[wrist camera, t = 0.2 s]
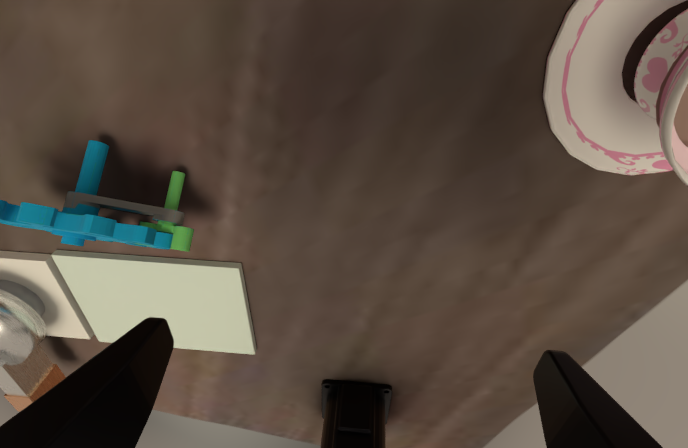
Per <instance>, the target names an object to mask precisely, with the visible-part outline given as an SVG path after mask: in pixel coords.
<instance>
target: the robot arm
mask: <svg viewBox="0 0 688 448" xmlns="http://www.w3.org/2000/svg"><path fill="white" fill-rule="evenodd" d="M173 347H174V339H173V336H172V333H171V330H170V328H169V325H168V322H167V320H166V319H164V318H156V317H149V318H146V319H144V320H143V321H142V322H140V323H139V324H138V325H136V326H135V327H133V328H132V329H131V330H129V331H128V332H127V333H125V334H124V335H123V336H121V337H120V338H119V339H117V340H116V341H115V342H113V343H112V344H111V345H109V346H108V347H107V348H105V349H104V350H103V351H101V352H100V353H99V354H97V355H96V356H94V357H93V358H92V359H90V360H89V361H88V362H86V363H85V364H84V365H82V366H81V367H80V368H78V369H77V370H76V371H74V372H73V373H72V374H70V375H69V376H68V377H66V378H65V379H64V380H62V381H61V382H59V383H58V384H57V385H55V386H54V387H53V388H51V389H50V390H49V391H47V392H46V393H45V394H43V395H42V396H41V397H39V398H38V399H37V400H35V401H34V402H33V403H31V404H30V405H29V406H27V407H26V408H25V409H23V410H22V411H20V412H19V413H18V414H17V415H15V416H14V417H12V418H11V419H10V420H8V421H7V422H6V423H4V424H3V425H2V426H1V427H0V448H135V446H136V444H137V442H138V440H139V437H140V436H141V433H142V431H143V429H144V427H145V425H146V422H147V420H148V418H149V415H150V413H151V411H152V409H153V406H154V403H155V400H156V398H157V395H158V392H159V389H160V386H161V383H162V380H163V377H164V374H165V371H166V368H167V365H168V362H169V359H170V356H171V353H172V350H173ZM533 378H534V385H535V390H536V395H537V400H538V405H539V410H540V416H541V421H542V427H543V432H544V437H545V441H546V446H547V448H662V447H661V445H660V444H659V443H658V442H657V441H655V439H654V438H652V436H651V435H649V433H647V432H646V431H645V430H644V429H643V428H642V427H641V426H640V425H639V424H638V423H637V422H636V421H635V420H634V419H633V418H632V417H631V416H630V415H629V414H628V413H627V412H626V411H625V410H624V409H623V408H622V407H621V406H620V405H619V404H618V403H617V402H616V401H615V400H614V399H613V398H612V397H611V396H610V395H609V394H608V393H607V392H606V391H605V390H604V389H603V388H602V387H601V386H600V385H599V384H598V383H597V382H596V381H595V380H594V379H593V378H592V377H591V376H590V375H589V374H588V373H587V372H586V371H584V369H583V368H582V367H581V366H580V365H579V364H578V363H577V362H576V361H575V360H574V359H573V358H572V357H571V356H570V355H568V354H567V353H566V352H563V351H555V350H547V351H545V352H544V353H543V355H542V357H541V359H540V360H539V362H538V364H537V366H536V368H535V370H534V375H533ZM391 395H392V387H391V386H390V385H384V384H372V383H361V382H349V381H338V380H323V381H322V417H323V419H324V424H323V432H322V440H321V448H385V424H386V423H387V418H388V412H389V407H390V401H391Z"/></svg>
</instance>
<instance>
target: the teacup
mask: <svg viewBox="0 0 688 448" xmlns="http://www.w3.org/2000/svg"><path fill="white" fill-rule="evenodd" d="M684 1H687V0H576V1H575V2H574V3H573V5H572V6H571V7H570V9H569V10H568V11H567V13H566V15H565V18H564V20H563V22H562V25H561V27H560V29H559V31H558V34H557V36H556V38H555V41H554V43H553V45H552V48H551V50H550V52H549V55H548V57H547V65H546V73H545V81H544V89H543V100H544V105H545V109H546V113H547V117H548V122H549V126H550V129H551V131H552V132H553V133H554V135H555V136H556V137H557V139H558V140H559V141H560V143H561V144H562V145H563V147H564V148H565V149H566V151H567V152H568V153H569V154H570V155H571V156H573V157H575V158H577V159H579V160H580V161H582V162H584V163H586V164H587V165H589V166H591V167H593V168H594V169H596V170H601V171H607V172H613V173H619V174H625V175H638V174H648V173H658V172H668V171H671V170H674V171H675V173H676V174H677V176H678V177H679V178H680V179H681V181H682V182H683V183H684V184H685V185H687V186H688V9H687V10H685V11H683V12H682V13H680V14H679V15H678V16H677V17H675V18H674V19H673V20H671V21H670V22H669V23H668V24H667V25H666V26H665V27H664V28H663V29H662V30H661V31H660V32H659V33H658V34H657V35H656V36H655V38H654V39H653V40H652V42H651V43H650V44H649V46H648V47H647V49H646V50H645V52H644V54H643V56H642V58H641V60H640V62H639V64H638V67H637V70H636V74H635V79H634V92H635V98H636V100H637V102H635V101H634V100H632V99H631V98H630V97H629V95H628V94H627V92H626V90H625V89H624V87H623V78H622V70H623V66H624V62H625V57H626V55H627V53H628V51H629V50H630V48H631V46H632V44H633V42H634V40H635V39H636V38H637V36H638V35H639V34H640V33H641V32H642V31H643V30H644V29H645V27H646V26H647V25H648V24H649V23H650V22H651V21H653V20H654V19H655V18H657V17H658V16H659V15H661V14H662V13H663V12H665V11H666V10H667V9H669V8H671V7H673V6H676V5H678V4H680V3H682V2H684Z"/></svg>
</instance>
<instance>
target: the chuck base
mask: <svg viewBox="0 0 688 448" xmlns="http://www.w3.org/2000/svg"><path fill="white" fill-rule="evenodd" d="M0 289H1V290H3V291H6V292H8V293H10V294H12V295H14V296H16V297H17V298H19V299H21V300H22V301H24V302H25V303H27V304H28V305H29V306H30V307H32V308H33V309H34V310H35V311H36V312H37V313H38V314H39V315H40V317H41V318H42V319H43V321H44V323H45V325H46V329H47V334H46V336H57V337H69V338H81V339H91V338H92V336H93V335H94V334H95V333H94V331H93V329H92V328H91V326H90V324H89V322H88V321H87V319H86V317H85V315H84V313H83V312H82V310H81V308H80V306H79V304H78V303H77V301H76V299H75V297H74V296H73V294H72V292H71V290H70V288H69V287H68V285H67V283H66V281H65V279H64V278H63V276H62V274H61V272H60V271H59V269H58V267H57V265H56V263H55V262H54V260H53V258H52V256H51V254H40V253H26V252H13V251H0Z"/></svg>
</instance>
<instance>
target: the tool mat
mask: <svg viewBox="0 0 688 448" xmlns="http://www.w3.org/2000/svg"><path fill="white" fill-rule="evenodd" d="M51 256H52V258H53V260H54V262H55V263H56V265H57V267H58V269H59V271H60V272H61V274H62V276H63V278H64V279H65V281H66V283H67V285H68V287H69V288H70V290H71V292H72V294H73V296H74V297H75V299H76V301H77V303H78V304H79V306H80V308H81V310H82V312H83V313H84V315H85V317H86V319H87V321H88V322H89V324H90V326H91V328H92V329H93V331H94V333H95V335H96V337H97V338H98V340H99V341H100V342H112V343H113V342H115V341H116V340H117V339H119V338H120V337H121V336H123V335H124V334H125V333H127V332H128V331H129V330H131V329H132V328H133V327H135V326H136V325H138V324H139V323H140V322H142V321H143V320H144V319H146V318H149V317H156V318H164V319H166V320H167V322H168V325H169V328H170V330H171V333H172V336H173V339H174V347H173V348H183V349H194V350H206V351H218V352H230V353H242V354H254V355H255V353H256V349H257V348H256V342H255V336H254V331H253V325H252V320H251V314H250V309H249V303H248V298H247V292H246V286H245V281H244V275H243V270H242V264H241V263H234V262H220V261H206V260H192V259H178V258H165V257H151V256H137V255H123V254H109V253H95V252H81V251H67V250H56V251H55V252H53V253H52V254H51Z"/></svg>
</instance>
